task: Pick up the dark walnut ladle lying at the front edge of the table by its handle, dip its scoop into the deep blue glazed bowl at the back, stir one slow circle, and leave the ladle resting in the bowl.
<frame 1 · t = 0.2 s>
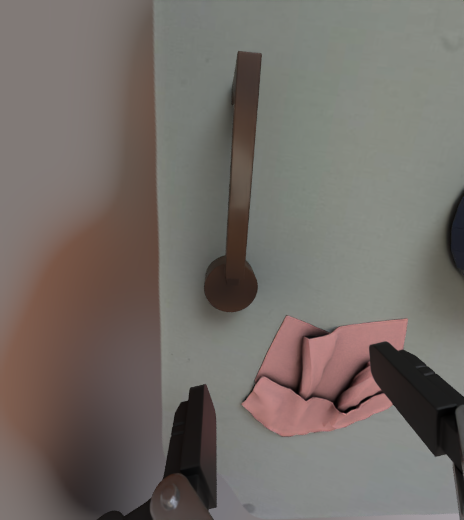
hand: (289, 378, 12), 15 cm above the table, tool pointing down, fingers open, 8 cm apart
cloth: (333, 375, 31), on the table
ladle: (235, 191, 24), on the table
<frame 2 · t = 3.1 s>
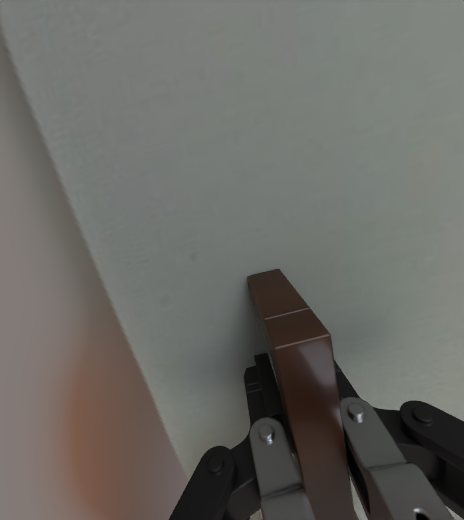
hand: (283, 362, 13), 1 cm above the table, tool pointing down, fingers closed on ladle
ladle: (292, 410, 15), on the table, touching gripper
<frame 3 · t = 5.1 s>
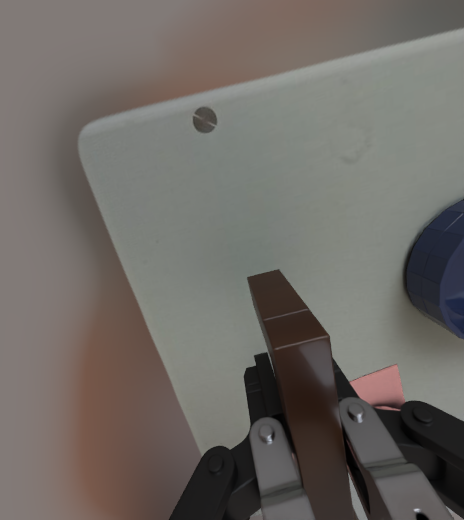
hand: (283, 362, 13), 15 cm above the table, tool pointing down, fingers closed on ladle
cloth: (347, 422, 35), on the table
ladle: (292, 411, 15), point 15 cm above the table, touching gripper
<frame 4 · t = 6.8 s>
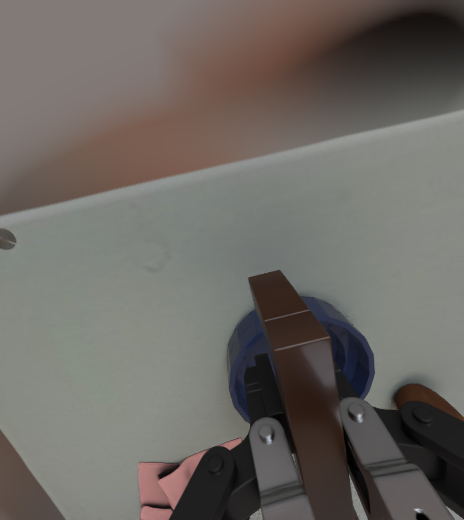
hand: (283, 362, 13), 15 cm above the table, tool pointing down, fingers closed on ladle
bowl: (289, 350, 31), on the table
cloth: (205, 487, 37), on the table
wooden figurine: (407, 393, 35), on the table
ladle: (293, 411, 15), point 15 cm above the table, touching gripper
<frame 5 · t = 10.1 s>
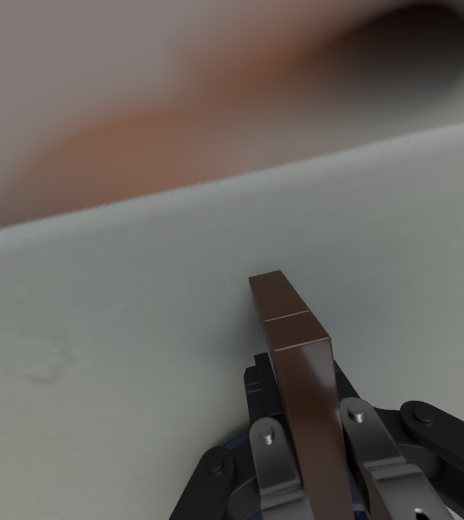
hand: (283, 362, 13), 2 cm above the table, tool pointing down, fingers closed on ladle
bowl: (291, 490, 19), on the table
ladle: (293, 411, 15), point 1 cm above the table, touching gripper
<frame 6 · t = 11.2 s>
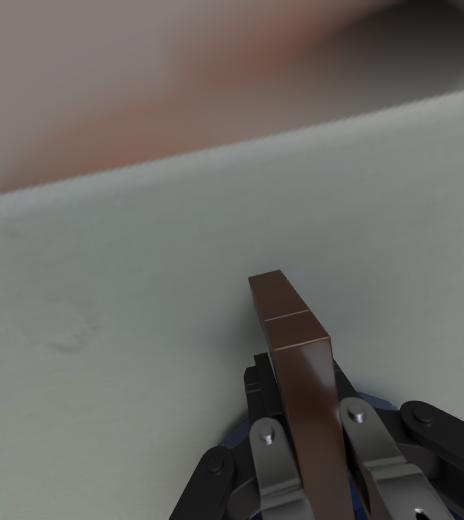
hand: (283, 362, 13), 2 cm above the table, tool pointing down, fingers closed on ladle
bowl: (312, 466, 19), on the table
ladle: (292, 411, 15), point 2 cm above the table, touching gripper
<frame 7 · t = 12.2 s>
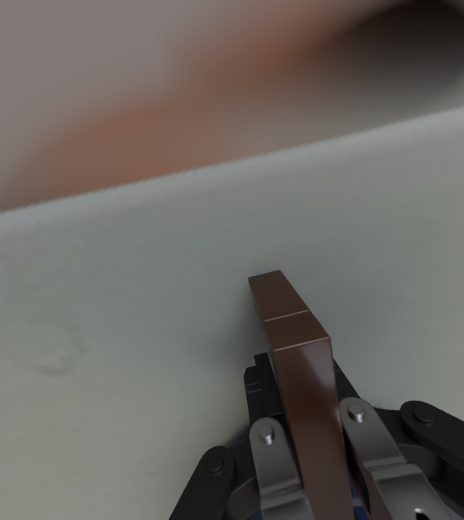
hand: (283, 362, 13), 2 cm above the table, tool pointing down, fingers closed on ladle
bowl: (308, 486, 18), on the table
ladle: (293, 411, 15), point 1 cm above the table, touching gripper
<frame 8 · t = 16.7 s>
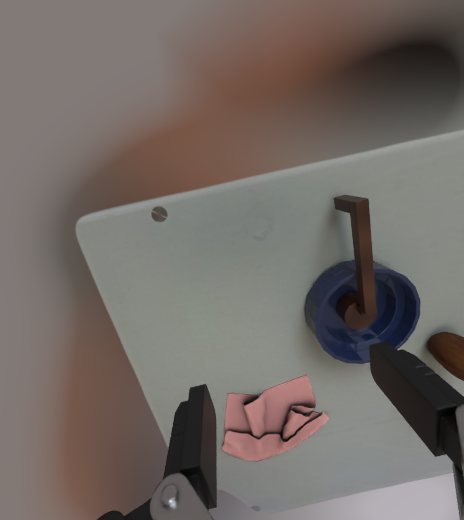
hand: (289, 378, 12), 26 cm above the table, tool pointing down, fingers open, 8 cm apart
bowl: (350, 303, 41), on the table
cloth: (274, 417, 47), on the table
wooden figurine: (437, 341, 44), on the table
ladle: (345, 255, 37), point 1 cm above the table, touching bowl
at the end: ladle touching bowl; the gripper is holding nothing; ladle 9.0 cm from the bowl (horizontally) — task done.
